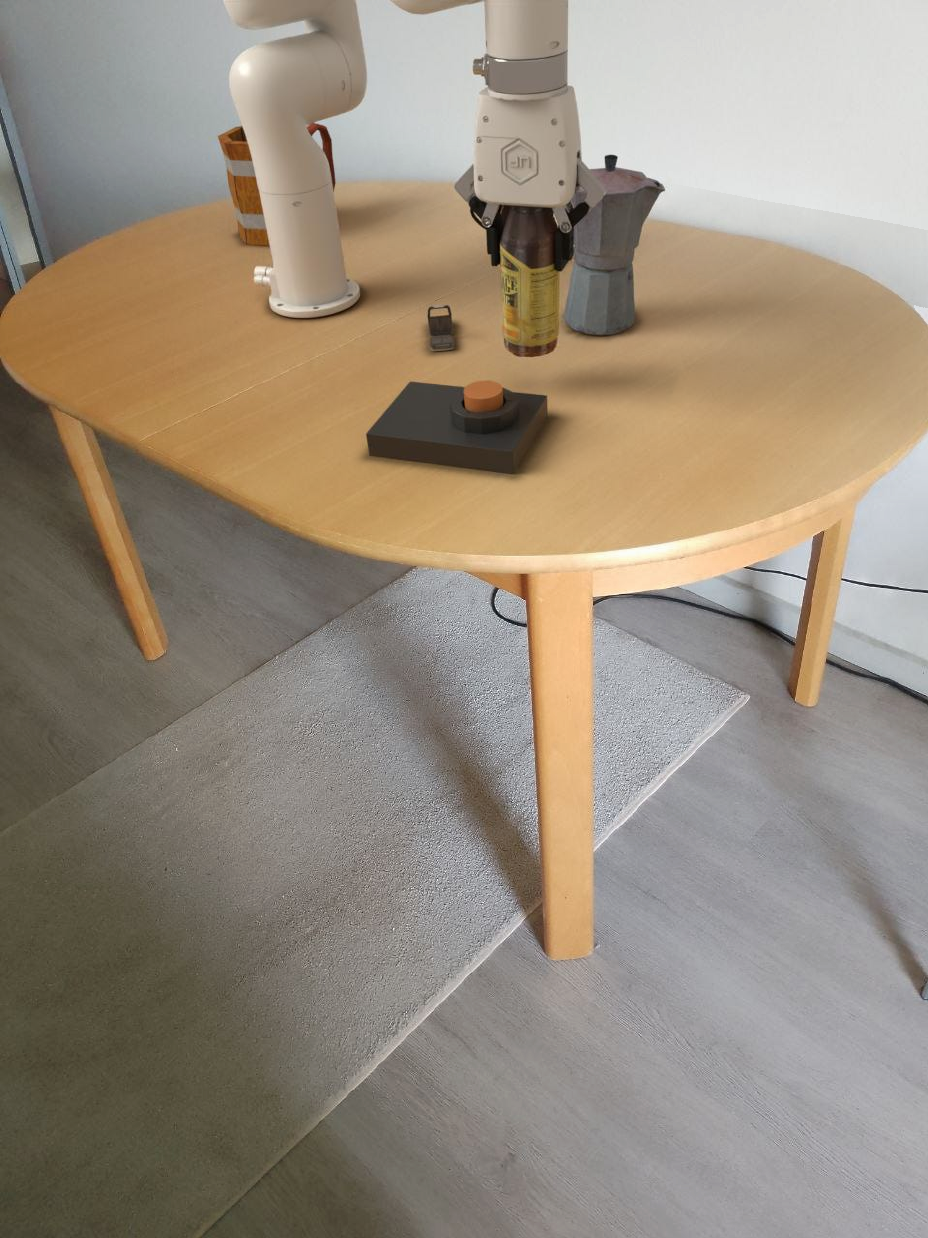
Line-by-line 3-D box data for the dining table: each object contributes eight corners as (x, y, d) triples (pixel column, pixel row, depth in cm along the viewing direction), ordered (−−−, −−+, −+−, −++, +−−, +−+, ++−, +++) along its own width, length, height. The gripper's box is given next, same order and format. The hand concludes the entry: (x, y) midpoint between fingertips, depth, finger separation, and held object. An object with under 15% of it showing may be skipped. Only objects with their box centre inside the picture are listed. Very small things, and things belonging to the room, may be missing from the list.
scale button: (459, 411, 102) (457, 396, 101) (472, 393, 105) (471, 378, 104) (496, 415, 101) (495, 400, 100) (508, 397, 103) (507, 382, 102)
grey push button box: (369, 456, 104) (363, 417, 102) (412, 402, 113) (408, 366, 110) (513, 474, 100) (511, 435, 97) (547, 417, 108) (547, 379, 105)
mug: (272, 252, 155) (251, 149, 145) (221, 236, 162) (199, 137, 153) (366, 215, 165) (352, 117, 155) (314, 202, 173) (299, 107, 163)
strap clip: (429, 325, 129) (425, 293, 126) (452, 322, 129) (449, 290, 126) (430, 353, 123) (427, 320, 120) (455, 351, 123) (452, 317, 120)
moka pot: (655, 339, 121) (665, 166, 108) (530, 337, 124) (524, 168, 111) (660, 307, 128) (669, 141, 115) (541, 306, 131) (537, 144, 118)
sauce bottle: (500, 338, 113) (492, 152, 100) (554, 332, 113) (554, 147, 100) (506, 364, 108) (499, 172, 95) (563, 358, 108) (564, 166, 95)
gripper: (426, 81, 93) (440, 271, 104) (608, 85, 87) (602, 284, 99) (454, 62, 98) (465, 245, 110) (627, 65, 93) (619, 256, 104)
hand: (530, 262), depth 104 cm, fingers closed on sauce bottle, 6 cm apart
